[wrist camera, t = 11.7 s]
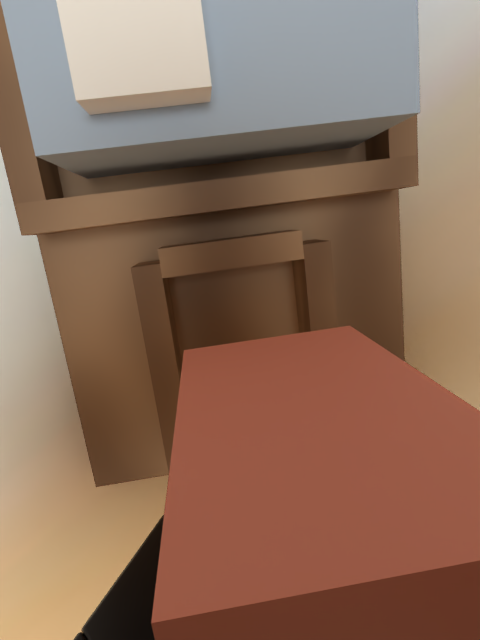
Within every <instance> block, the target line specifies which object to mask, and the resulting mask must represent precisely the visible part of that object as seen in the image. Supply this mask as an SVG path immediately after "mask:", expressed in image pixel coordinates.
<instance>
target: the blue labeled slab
mask: <svg viewBox="0 0 480 640" xmlns="http://www.w3.org/2000/svg"><path fill="white" fill-rule="evenodd" d="M0 1H1V5H2V9H3V14H4V18H5V23H6V27H7V32H8V36H9V41H10V45H11V49H12V54H13V58H14V63H15V67H16V72H17V76H18V81H19V85H20V90H21V94H22V98H23V103H24V107H25V112H26V116H27V121H28V125H29V130H30V134H31V139H32V143H33V147H34V152H35V156H36V157H39V158H41V159H43V160H46V161H48V162H50V163H52V164H55V165H57V166H59V167H62V168H64V169H66V170H69V171H71V172H73V173H76V174H78V175H80V176H82V177H85V178H87V179H89V178H98V177H106V176H115V175H123V174H132V173H140V172H149V171H157V170H166V169H174V168H183V167H191V166H199V165H208V164H216V163H225V162H233V161H242V160H250V159H259V158H267V157H276V156H284V155H293V154H301V153H310V152H318V151H327V150H335V149H344V148H352V147H354V146H356V145H358V144H360V143H362V142H364V141H366V140H368V139H370V138H372V137H373V136H375V135H377V134H379V133H381V132H383V131H385V130H387V129H389V128H391V127H393V126H395V125H397V124H399V123H401V122H403V121H405V120H407V119H409V118H410V117H412V116H414V115H416V114H418V113H420V86H419V40H418V0H0Z"/></svg>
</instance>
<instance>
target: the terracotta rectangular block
mask: <svg viewBox="0 0 480 640" xmlns="http://www.w3.org/2000/svg"><path fill="white" fill-rule="evenodd" d="M151 625H152V629H153V634H154V639H155V640H480V411H479V410H477V409H476V408H474V407H473V406H471V405H470V404H468V403H467V402H465V401H464V400H462V399H461V398H459V397H458V396H456V395H455V394H453V393H452V392H450V391H448V390H447V389H445V388H444V387H442V386H441V385H439V384H438V383H436V382H435V381H433V380H432V379H430V378H429V377H427V376H426V375H424V374H423V373H421V372H420V371H418V370H417V369H415V368H414V367H412V366H410V365H409V364H407V363H406V362H404V361H403V360H401V359H400V358H398V357H397V356H395V355H394V354H392V353H391V352H389V351H388V350H386V349H385V348H383V347H382V346H380V345H379V344H377V343H376V342H374V341H372V340H371V339H369V338H368V337H366V336H365V335H363V334H362V333H360V332H359V331H357V330H356V329H354V328H353V327H351V326H344V327H337V328H330V329H323V330H317V331H310V332H303V333H296V334H290V335H283V336H276V337H269V338H263V339H256V340H249V341H242V342H236V343H229V344H222V345H215V346H209V347H202V348H195V349H188V350H184V353H183V362H182V370H181V378H180V387H179V395H178V403H177V412H176V420H175V428H174V437H173V445H172V453H171V462H170V470H169V478H168V487H167V495H166V503H165V512H164V520H163V528H162V537H161V545H160V553H159V562H158V570H157V578H156V587H155V595H154V603H153V612H152V620H151Z"/></svg>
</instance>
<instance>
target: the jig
mask: <svg viewBox="0 0 480 640" xmlns="http://www.w3.org/2000/svg"><path fill="white" fill-rule="evenodd" d="M0 148H1V152H2V156H3V160H4V165H5V169H6V173H7V177H8V181H9V185H10V189H11V193H12V197H13V202H14V206H15V210H16V214H17V218H18V222H19V226H20V230H21V235H37V237H38V241H39V246H40V250H41V254H42V258H43V263H44V267H45V271H46V275H47V280H48V284H49V288H50V292H51V297H52V301H53V305H54V310H55V314H56V318H57V322H58V327H59V331H60V335H61V339H62V344H63V348H64V352H65V356H66V361H67V365H68V369H69V374H70V378H71V382H72V386H73V391H74V395H75V399H76V403H77V408H78V412H79V416H80V420H81V425H82V429H83V433H84V438H85V442H86V446H87V450H88V455H89V459H90V463H91V467H92V472H93V476H94V480H95V484H96V487H99V486H104V485H110V484H116V483H122V482H128V481H134V480H140V479H146V478H152V477H158V476H164V475H169V470H170V462H171V453H172V445H173V437H174V428H175V420H176V412H177V403H178V395H179V387H180V378H181V370H182V362H183V353H184V350H188V349H195V348H202V347H209V346H215V345H222V344H229V343H236V342H242V341H249V340H256V339H263V338H269V337H276V336H283V335H290V334H296V333H303V332H310V331H317V330H323V329H330V328H337V327H344V326H351V327H353V328H354V329H356V330H357V331H359V332H360V333H362V334H363V335H365V336H366V337H368V338H369V339H371V340H372V341H374V342H376V343H377V344H379V345H380V346H382V347H383V348H385V349H386V350H388V351H389V352H391V353H392V354H394V355H395V356H397V357H398V358H400V359H401V360H403V361H404V336H403V307H402V279H401V250H400V221H399V193H398V189H401V188H406V187H412V186H417V185H418V144H417V114H416V115H414V116H412V117H410V118H409V119H407V120H405V121H403V122H401V123H399V124H397V125H395V126H393V127H391V128H389V129H387V130H385V131H383V132H381V133H379V134H377V135H375V136H373V137H372V138H370V139H368V140H366V141H364V142H362V143H360V144H358V145H356V146H354V147H352V148H344V149H335V150H327V151H318V152H310V153H301V154H293V155H284V156H276V157H267V158H259V159H250V160H242V161H233V162H225V163H216V164H208V165H199V166H191V167H183V168H174V169H166V170H157V171H149V172H140V173H132V174H123V175H115V176H106V177H98V178H89V179H87V178H85V177H82V176H80V175H78V174H76V173H73V172H71V171H69V170H66V169H64V168H62V167H59V166H57V165H55V164H52V163H50V162H48V161H46V160H43V159H41V158H39V157H36V156H35V152H34V147H33V143H32V139H31V134H30V130H29V125H28V121H27V116H26V112H25V107H24V103H23V98H22V94H21V90H20V85H19V81H18V76H17V72H16V67H15V63H14V58H13V54H12V49H11V45H10V41H9V36H8V32H7V27H6V23H5V18H4V14H3V9H2V5H1V1H0Z"/></svg>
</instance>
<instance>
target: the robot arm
mask: <svg viewBox="0 0 480 640" xmlns="http://www.w3.org/2000/svg"><path fill="white" fill-rule="evenodd" d="M163 520H164V515H163V516H162V518H161V519H160V520H159V522H158V523H157V525H156V526H155V527H154V529H153V530H152V532H151V533H150V534H149V536H148V537H147V538H146V540H145V541H144V543H143V544H142V545H141V547H140V548H139V550H138V551H137V552H136V554H135V555H134V557H133V558H132V559H131V561H130V562H129V564H128V565H127V566H126V568H125V569H124V570H123V572H122V573H121V575H120V576H119V577H118V579H117V580H116V582H115V583H114V584H113V586H112V587H111V589H110V590H109V591H108V593H107V594H106V595H105V597H104V598H103V600H102V601H101V602H100V604H99V605H98V607H97V608H96V609H95V611H94V612H93V614H92V615H91V616H90V618H89V619H88V621H87V622H86V623H85V625H84V626H83V628H82V632H80V633H78V634H77V635H76V637H75V638H74V640H155V639H154V634H153V629H152V625H151V620H152V612H153V603H154V595H155V587H156V578H157V570H158V562H159V553H160V545H161V537H162V528H163Z"/></svg>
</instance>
